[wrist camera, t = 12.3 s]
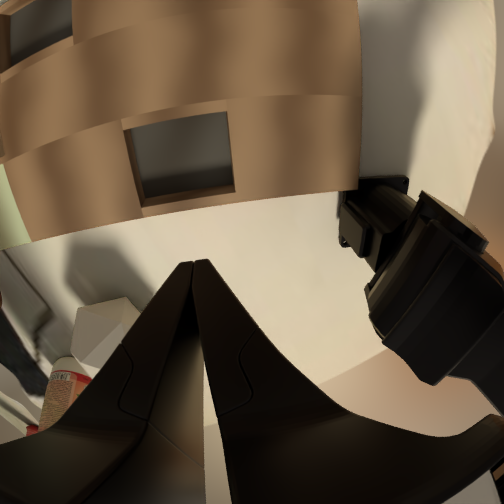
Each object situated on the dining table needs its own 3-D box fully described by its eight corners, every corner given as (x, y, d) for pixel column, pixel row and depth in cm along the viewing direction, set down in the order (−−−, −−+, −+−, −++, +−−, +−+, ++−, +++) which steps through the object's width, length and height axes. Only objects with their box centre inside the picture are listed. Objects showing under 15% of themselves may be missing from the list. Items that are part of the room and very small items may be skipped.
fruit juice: (49, 347, 27) (22, 549, 5) (115, 365, 31) (111, 576, 8) (59, 380, 32) (44, 544, 9) (115, 395, 35) (115, 563, 12)
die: (72, 277, 23) (48, 370, 19) (122, 284, 19) (94, 406, 16) (128, 304, 30) (109, 383, 26) (184, 314, 26) (164, 409, 22)
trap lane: (335, -51, 10) (360, -68, 7) (346, 179, 21) (370, 200, 18) (-42, 52, 7) (-70, 57, 4) (1, 241, 19) (-19, 266, 15)
